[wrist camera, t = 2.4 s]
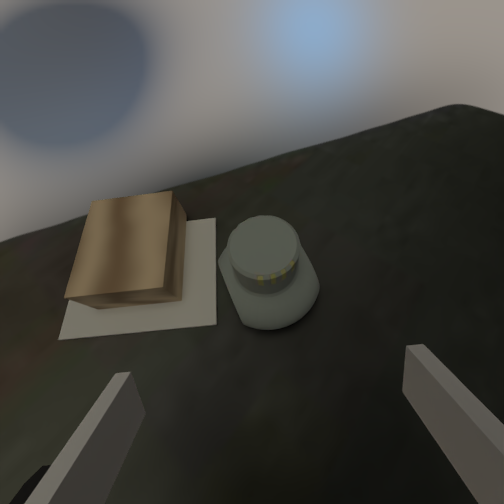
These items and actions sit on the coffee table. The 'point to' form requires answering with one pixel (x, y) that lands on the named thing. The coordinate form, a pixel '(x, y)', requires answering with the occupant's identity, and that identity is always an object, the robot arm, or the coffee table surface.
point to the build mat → (161, 314)
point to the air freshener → (268, 273)
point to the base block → (130, 252)
